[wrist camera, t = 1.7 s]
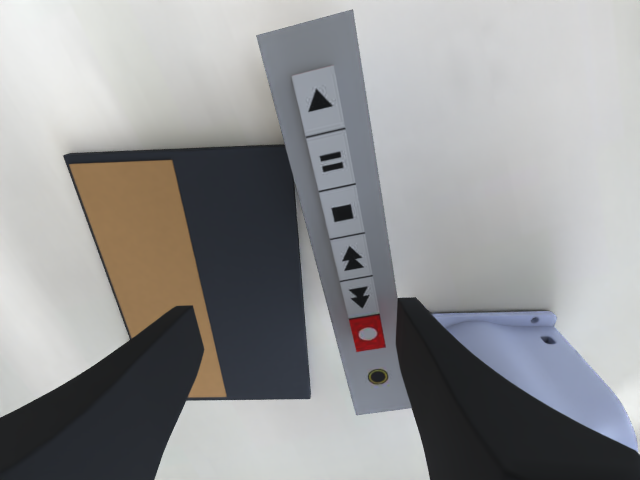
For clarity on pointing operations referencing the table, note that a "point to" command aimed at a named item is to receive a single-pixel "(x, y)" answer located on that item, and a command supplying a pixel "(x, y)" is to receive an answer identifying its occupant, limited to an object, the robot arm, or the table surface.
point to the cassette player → (340, 196)
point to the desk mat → (206, 257)
